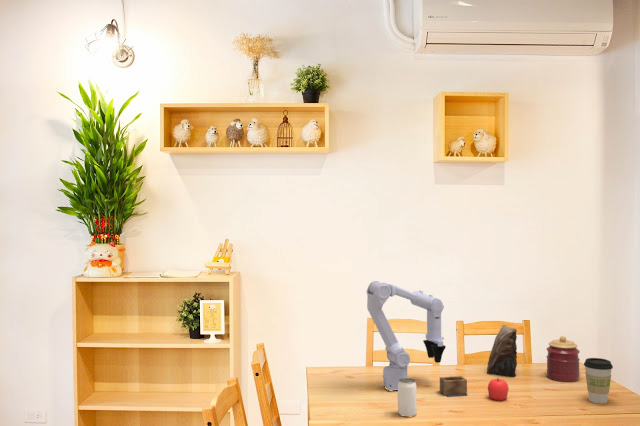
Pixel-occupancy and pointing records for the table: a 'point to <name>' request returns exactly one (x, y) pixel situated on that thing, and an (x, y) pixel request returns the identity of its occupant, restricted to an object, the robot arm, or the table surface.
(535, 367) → the table surface
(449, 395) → the panel
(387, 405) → the table surface
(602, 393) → the coffee cup
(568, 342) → the canister
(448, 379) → the walnut link
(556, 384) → the table surface
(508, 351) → the rock
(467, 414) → the table surface
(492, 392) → the apple
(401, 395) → the can
